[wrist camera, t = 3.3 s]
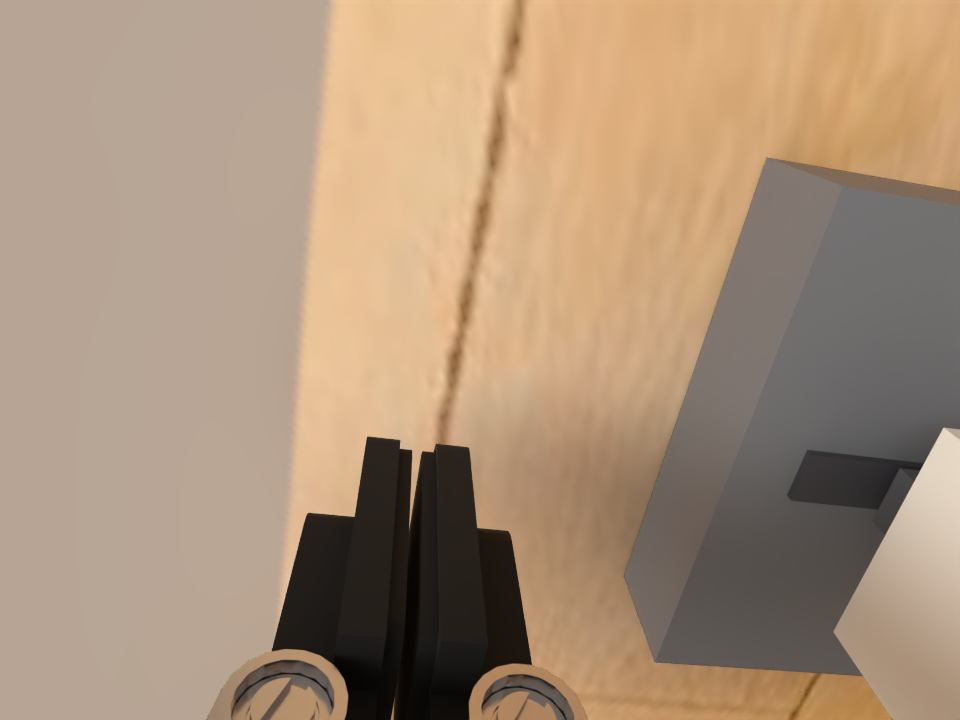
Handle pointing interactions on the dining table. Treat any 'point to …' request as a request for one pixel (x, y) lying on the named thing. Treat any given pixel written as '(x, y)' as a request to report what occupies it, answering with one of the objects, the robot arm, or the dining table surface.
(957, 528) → the fader
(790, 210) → the console
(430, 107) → the dining table surface
